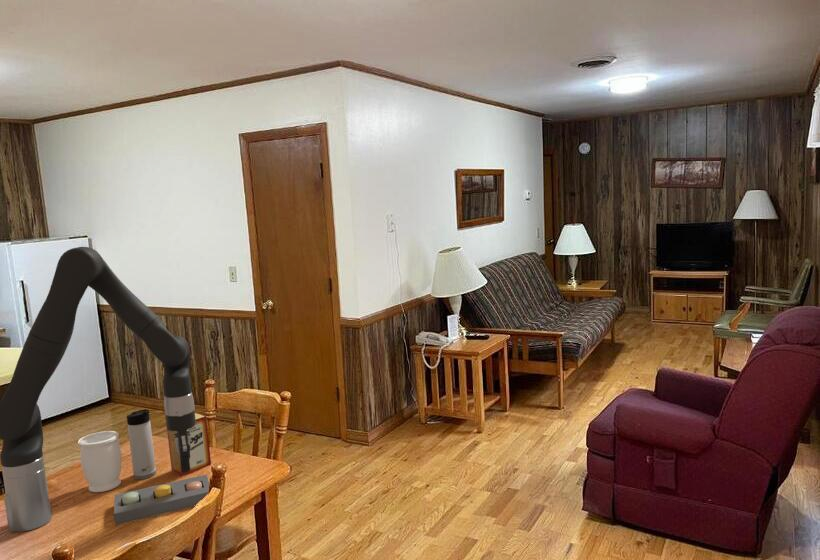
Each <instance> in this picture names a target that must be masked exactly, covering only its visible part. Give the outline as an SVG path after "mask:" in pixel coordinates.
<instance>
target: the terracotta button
mask: <svg viewBox="0 0 820 560" xmlns="http://www.w3.org/2000/svg"><path fill="white" fill-rule="evenodd" d="M199 488H202V483H201V482H199V481H195V482H191V483H189V484H187V485H186V489H187V491H191V490H195V489H199Z"/></svg>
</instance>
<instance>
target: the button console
mask: <svg viewBox="0 0 820 560" xmlns="http://www.w3.org/2000/svg"><path fill="white" fill-rule="evenodd" d="M195 481H199V482H201V483H202V488H199V489H195V490H191V491H187V489H186V485H187V484H189V483H191V482H195ZM209 484H210V481H209V478H208V474H207V473H206V474H203V475H199V476H198V475H197V476H194V477H189V478H184V479H179V480H176V481H170V482H167V483H161V484H157V485H153V486H149V487H143V488H140V489H136V490H131V491H126V492H122V493H117V494H114V498H113V499H114V502H113V505H114V506H113V518H114V525H115V526H118V525H122V524H126V523H129V522H133V521H138V520H143V519H147V518H150V517H154V516H159V515H160V516H161V515H163V514H164V515H165V514H168V513H173V512H176V511H179V510H184V509H188V508H193V507H195V506H194V505H196V504H197V503H198V502H199V501H200V500H202V499H203V498H204V497H205V496H206V495H207V494H208V491H209ZM161 485H170V488H171V495H169V496H164V497H160V498H155V488H156V487H158V486H161ZM130 492H138V495H139V502H138V503H134V504H130V505H125V506H123V502H122V496H123V495H124V494H126V493H130Z"/></svg>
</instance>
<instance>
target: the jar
mask: <svg viewBox="0 0 820 560" xmlns="http://www.w3.org/2000/svg"><path fill="white" fill-rule="evenodd" d="M119 438H120V434H119V432H118V431H115V430H104V431H98V432H94V433H89V434H88V435H84V436H83V437H81V438H80V439H79V440H78V443H77V444H78V446H79V447H81V448H80V453H79V454H80V457H79V458H80V465H81V468H82V472H83V475H84V477H85V479H86V482H88V484H89V486H88V491H90V492H91V493H104V492H107V491H110V490H113V489H115V488H117V487H119V486H120V485H121V483H122V481H121V479H120V478H119V477H120V475H121V471H122V457H123V454H122V448H121V444H120V442H119V440H118V439H119Z"/></svg>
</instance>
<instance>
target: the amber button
mask: <svg viewBox="0 0 820 560" xmlns="http://www.w3.org/2000/svg"><path fill="white" fill-rule="evenodd" d="M160 485H161V484H160ZM169 495H171V488H170V485H161V486H158V487H156V488H155V498H160V497H164V496H169Z"/></svg>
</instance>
